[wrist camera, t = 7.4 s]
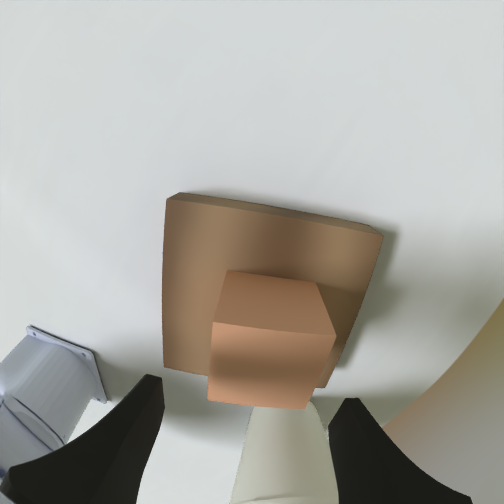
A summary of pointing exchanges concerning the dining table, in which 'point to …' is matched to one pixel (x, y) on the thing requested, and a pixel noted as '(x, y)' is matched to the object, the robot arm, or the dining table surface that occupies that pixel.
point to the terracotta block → (268, 341)
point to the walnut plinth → (255, 267)
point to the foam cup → (285, 459)
